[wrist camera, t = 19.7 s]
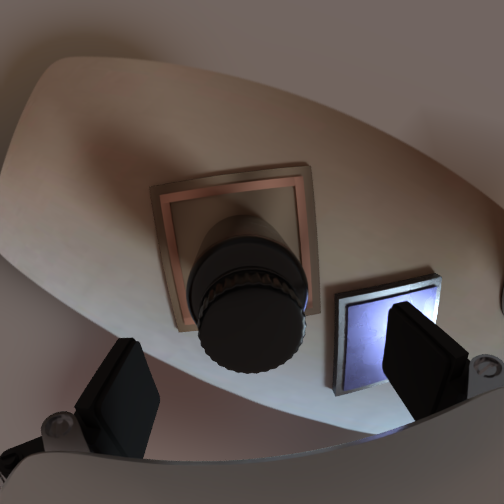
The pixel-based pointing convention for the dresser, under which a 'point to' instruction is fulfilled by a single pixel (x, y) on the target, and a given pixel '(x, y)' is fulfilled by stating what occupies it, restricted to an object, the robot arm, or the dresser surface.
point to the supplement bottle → (247, 295)
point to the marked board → (229, 204)
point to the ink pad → (373, 328)
